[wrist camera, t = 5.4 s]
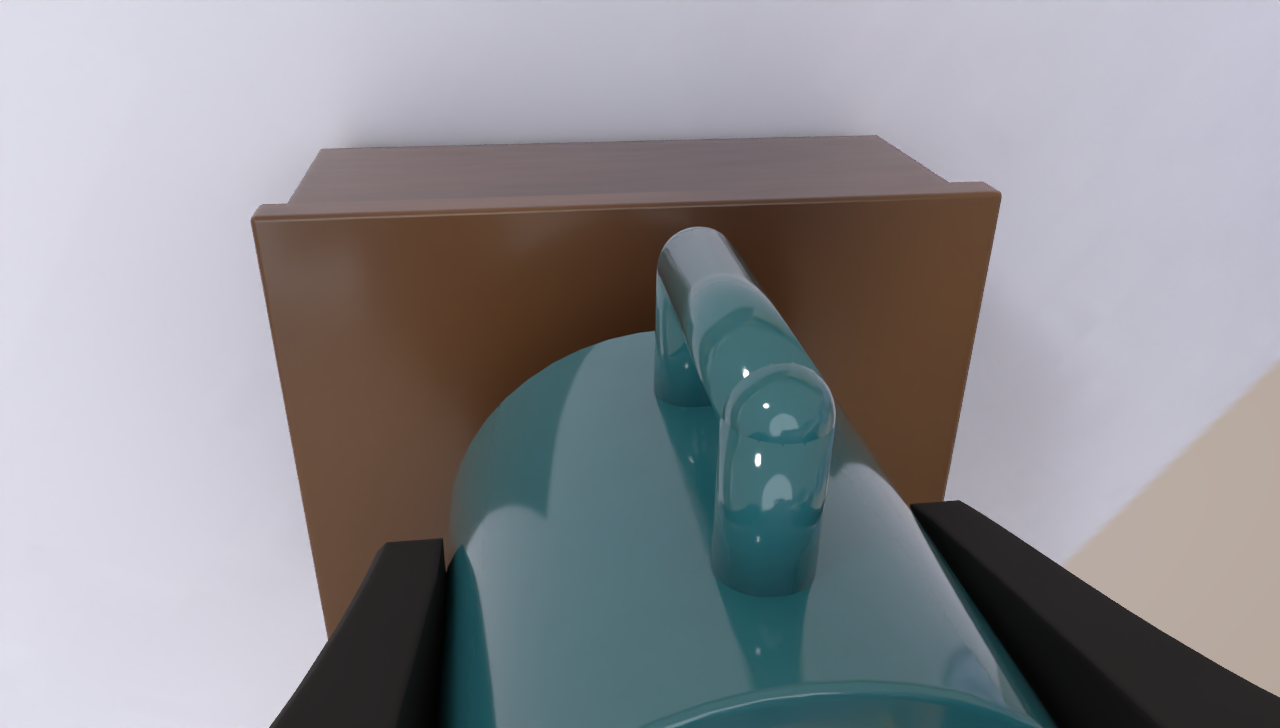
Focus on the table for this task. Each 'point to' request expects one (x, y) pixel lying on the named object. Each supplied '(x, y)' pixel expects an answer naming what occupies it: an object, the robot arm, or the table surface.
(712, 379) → the cup
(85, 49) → the table surface
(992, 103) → the table surface
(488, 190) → the brown wooden box
